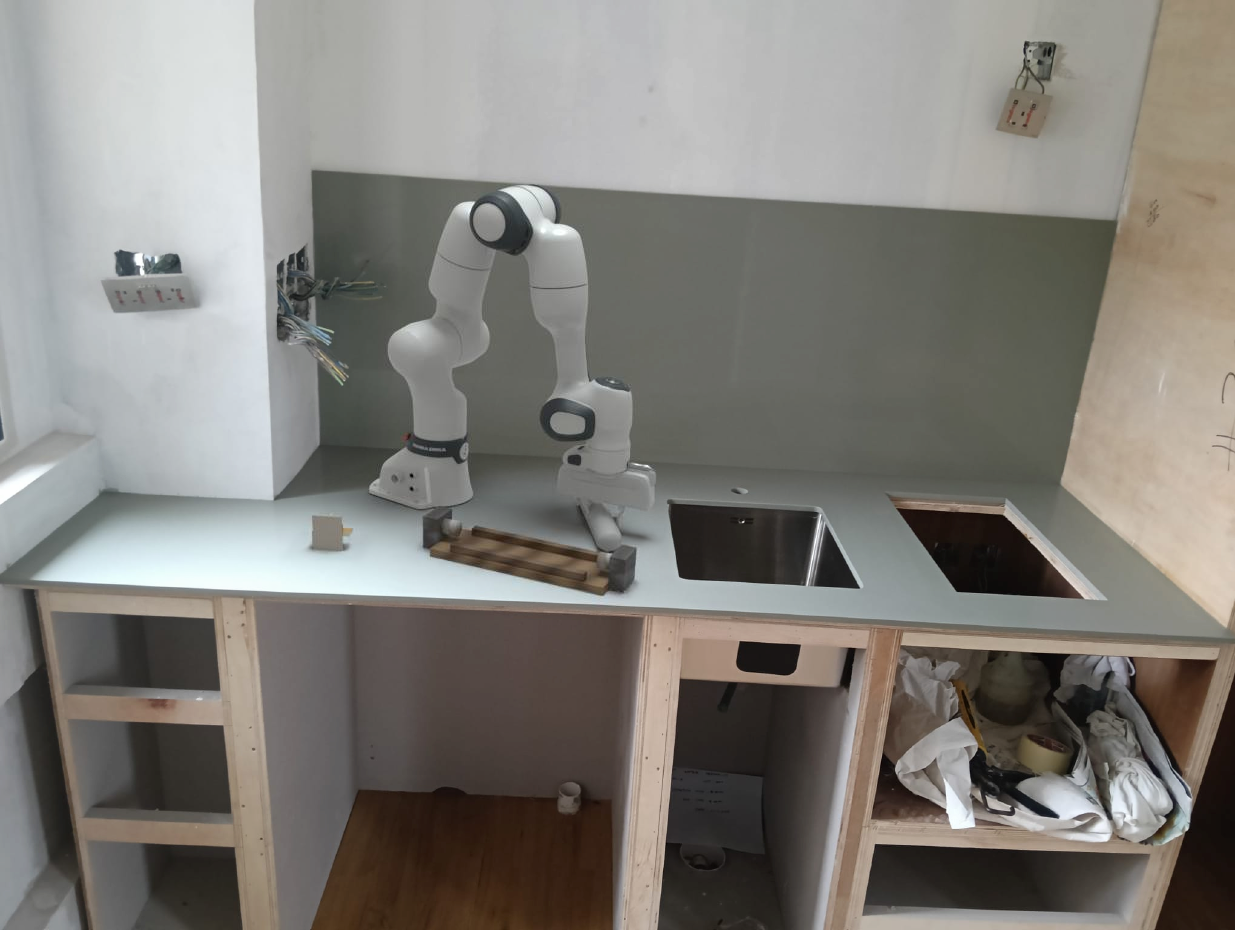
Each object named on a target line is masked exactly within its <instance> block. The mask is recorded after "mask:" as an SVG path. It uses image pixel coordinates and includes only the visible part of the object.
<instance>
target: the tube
mask: <svg viewBox="0 0 1235 930" xmlns="http://www.w3.org/2000/svg"><path fill="white" fill-rule="evenodd" d="M576 502H577V503H578V504H579V506H580V508H581V512H582V513H583V514H582V515H583V516H584V518H585V521H586V523H587V525H588V527H589V530H590V532H591V534H592V537H593V539H594V542H595V544H596V546H597V548H599V549H600V550H601V551H602V552H606V553H609V552H615V551H616V550H617V549H618V547H619V546H620V545H621V544H622V543H621V542H622V534H621V532H620V528H618V525H616V523H615V521H614V519H613V515H612V513H611V511H610V509H609V507H608V505H607V503H602V502H597V501H591V502H590V504H591V508H590V513H588V518H587V519H586V514H587V511H586V510H585V508H584V506H583V504H582V498H576Z"/></svg>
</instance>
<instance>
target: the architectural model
mask: <svg viewBox="0 0 1235 930" xmlns="http://www.w3.org/2000/svg"><path fill="white" fill-rule="evenodd" d="M333 513H334V512H330V513H329V514H328V515H324V514H321V515H320V514H311V523H312V524H311V525H312V526H311V527H312V531H311V538H312V550H321V551H336V552H337V551H339V552H341V551H342V552H343V551H344V545H343V544H344V542H343V537H349V538H350V536H351V534H352V533H353V531H354V528H353V527H344V524H343V517H342V516H341V515H340V516H337V515H333Z"/></svg>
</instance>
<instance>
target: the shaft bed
mask: <svg viewBox="0 0 1235 930" xmlns="http://www.w3.org/2000/svg"><path fill="white" fill-rule="evenodd" d="M422 549H426V550H429V556H430V557H434V558H438V559H443V560H447V561H452V562H455V563H461V564H465V565H468V566H473V567H477V568H482V569H485V570H486V569H487V570H492V571H494V572H495V571H496V572H501V573H504V574H508V575H513V576H517V577H521V578H524V579H525V578H526V579H530V580H534V581H538V582H539V581H540V582H542V583H548V584H552V585H556V586H561V587H566V588H569V589H573V590H578V591H582V592H587V593H592V594H595V595H600V596H604V594H605V593H607V591H608V590H609V591H613V592H617V593H622V594H624V593H625V592H626V591H627V590H628V588H629V587H630V585H631V584H632V583H633V581H635V579H636V578H635V576H636V574H635V573H636V562H637V550H638V549H637V547H636V546H631V545H628V544H627V545H626V544H622V543H621V544H620V546H619V547H618V548H617V549H616V550H615V551H613V553H609V552H605V551H596V550H590V549H587V548H582V547H577V546H572V545H569V544H563V543H558V542H555V541H550V540H545V539H540V538H536V537H535V538H534V537H532V536H531V537H530V536H526V535H521V534H517V533H511V532H507V531H502V530H498V529H493V528H488V527H485V526H480V525H474V526H473V527H471V529H467V528H463V522H462V521H460V520H456V519H453V508H452V507H451V508H450V507H448V506H438V507H434V508H433V509H432V510H430V511H428V512H427V513H426V514H424V515H422Z"/></svg>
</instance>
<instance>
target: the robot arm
mask: <svg viewBox="0 0 1235 930" xmlns="http://www.w3.org/2000/svg"><path fill="white" fill-rule="evenodd" d="M561 220H562V206H561V203H560V200H559V199H558V197H557V196H556V194H555V193H554V192H553V191H552V190H551V189H550V188H547V187H545V186H543V185H539V184H533V183H531V184H524V185H523V184H522V185H521V184H520V185H517V184H516V185H511V186H507V187H505V188H501V189H498V190H492V191H489V192H487V193H484V194H483V195H481V196H480V197H479V198H478V199H476V201H463V202H461V203H458V204H457V205H456V206H455V207H454V208H453V209H452V211H451V213H450V215H449V217H448V219H447V220H446V224H445V226H444V228H443V231H442V234H441V237H440V239H439V241H438V246H437V250H436V253H435V256H434V260H433V264H432V268H431V272H430V276H429V279H428V290H429V291H430V294H431V295H432V296H433V297H434V298H435V300H436V310H435V312H434V314H433V316H432V317H430V318H427V319H423V320H419V321H413V322H412V323H408V324H407V325H404V326H403V327H401V328H400V329H398V330H396V331H395V332H394V333H393V334H391V336H390V338H389V340H388V344H387V356H388V359H389V362H390V364H391V365H392V367H393V368H394V370H395V371H396V372H397V373H399V374H400V375H401V376H403V378H404V379H405V381H406V383H407V385H408V388H409V390H410V391H409V392H410V395H411V398H412V408H413V409H412V412H413V430H411V431H409V432H407V434H405V435H404V436H402V438H403V439H402V442H406V441H407V444H406V445H405V447H404V448H402V449H401V450H399V451H398V452H396V453H395V454H394V455H391V456H390V457H389V458H388V459H386V461H384V462H383V464H382V465H381V466H382V467H381V470H380V474H379V477H378V478H377V479H375V480H374V481H373V482H372V483H370V485H369V489H368V493H369V494H371V495H373V496H377V497H380V498H383V499H386V500H389V501H392V502H395V503H398V504H401V505H405V506H407V507H410V508H413V509H416V510H424V509H425V510H426V509H430V508H436V507H438V506H442V507H451V506H457V505H461V504H463V503H466V502H468V501H469V500H472V498H473V496H474V491H473V488H472V485H471V484H472V483H471V481H470V474H469V473H470V472H469V466H468V465H469V464H468V458H469V457H468V456H469V432H468V431H467V420H468V419H467V415H468V414H467V412H468V410H467V407H468V405H467V404H468V402H467V397H466V396H465V394H464V393H463V392H462V391H460V390H459V389H457V388H456V386H455V383H454V380H453V369H455V368H459V367H461V366H462V367H463V366H464V365H467V364H471V363H472V362H474V361H475V360H477V359H478V358H479V357H481V356H482V355H484V354H485V353H486V351H488V349H489V346H490V339H491V336H490V330H489V328H488V326H487V324H486V322H485V321H484V320H483V316H482V315H483V314H482V311H483V310H482V309H483V308H482V307H483V301H484V296H485V291H486V288H487V284H488V280H489V278H490V277H489V276H490V273H491V270H492V266H493V263H494V261H495V255H496V253H497V251H500V252H503V253H506V254H508V255H511V256H513V257H518V256H519V255H521V254H522V255H523V256H524V257H525V259H526V261H527V264H528V265H527V266H528V269H529V270H528V271H529V285H530V286H529V289H530V300H531V305H532V310H533V313H534V316H535V319H536V321H537V323H539V325H540V326H541V327H543V328H545V329H546V330H547V331H549V332H550V335H551V336H552V338H553V342H554V348H555V359H556V372H557V381H556V384H555V387H554V389H553V392H552V394H551V395H550V396H549V397H548V399H547V400H546V401H545V403H544V404H543V405H542V407H541V410H540V413H539V423H540V426H541V429H542V430H543V432H544V433H545V434H546V435H547V436H548V437H549V438H550V439H552V440H555V441H557V442H561V443H563V442H564V443H565V442H566V443H567V442H569V443H570V442H572V443H573V442H581V441H582V442H583V441H586V444H579V445H574V446H572V447H571V448H569V449H568V450H567V451H565V452H564V453H563V456H562V462H563V464H562V465H561V466H560V468H559V470H558V474H557V475H558V476H557V481H556V482H557V485H556V488H557V491H558V493H559V494H560V495H561V496H568V497H571V498H576V499H577V498H582V504H583V506H584V508H585V510H586V511H587V514H586V518H585V520H586V519H587V518H588V513H590V508H591V504H590V502H591V501H597V502H602V503H606V505H607V504H608V505H611V506H612V505H613V506H617V507H618V509H617V510H618V511H619V513H615V514H614V515H612V517H613V519H614V521H615V523H616V525H617V526H620V525H621V524H622V522H623V516H624V514H625V513H626V512H627V510H628V509H634V510H639V511H643V512H644V511H645V512H646V511H648V510H649V509H651V508H652V507H653V505H654V504H655V498H656V497H655V485H656V483H657V473H656V471H655V469H654V468H652V467H651V466H650V465H649V464H641V463H638V462H633V461H630V456H631V445H632V444H631V440H630V431H631V428H632V425H633V411H634V410H633V405H634V404H633V394H632V391H631V388H630V387H629V386H628V385H627V383H625V382H623V381H622V380H620V379H618V378H614V377H609V376H597V377H595V378H594V379H593V380H592V379H591V377H590V373H589V365H588V364H589V363H588V353H587V341H586V339H587V338H586V327H587V315H588V310H589V309H588V307H589V280H588V268H587V260H586V255H585V249H584V246H583V241H582V238H581V235H580V233H579V232H578V231H577V230H576V229H575V228H573V227H571V226H569V225H567V224H563V223H561Z"/></svg>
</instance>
